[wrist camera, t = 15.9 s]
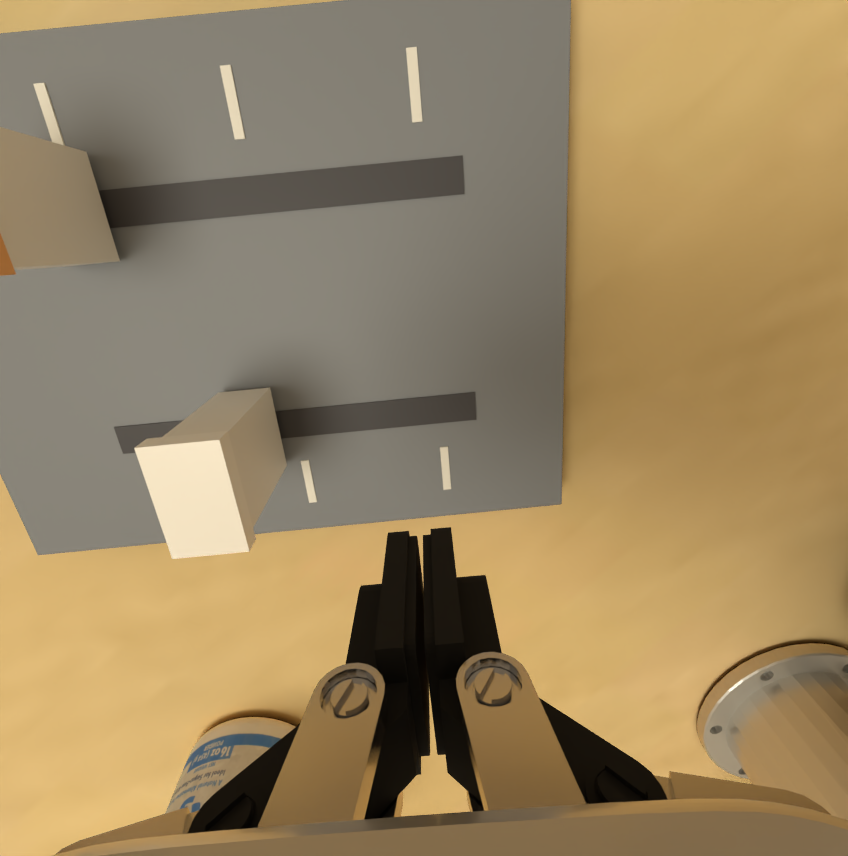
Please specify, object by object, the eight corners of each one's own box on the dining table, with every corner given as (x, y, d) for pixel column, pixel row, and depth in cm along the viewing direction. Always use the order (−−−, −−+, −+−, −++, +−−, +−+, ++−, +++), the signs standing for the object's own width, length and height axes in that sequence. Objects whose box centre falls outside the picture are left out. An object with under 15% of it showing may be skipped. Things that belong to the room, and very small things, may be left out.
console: (554, 4, 19) (571, -23, 17) (550, 486, 27) (561, 505, 25) (-138, 71, 19) (-200, 51, 17) (63, 533, 27) (36, 556, 25)
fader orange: (90, 145, 18) (-79, 92, 12) (126, 265, 20) (-6, 275, 13) (17, 152, 18) (-191, 103, 12) (59, 272, 20) (-104, 285, 13)
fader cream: (273, 382, 22) (219, 439, 15) (291, 468, 23) (249, 551, 17) (213, 388, 22) (134, 448, 15) (235, 473, 23) (172, 559, 17)
